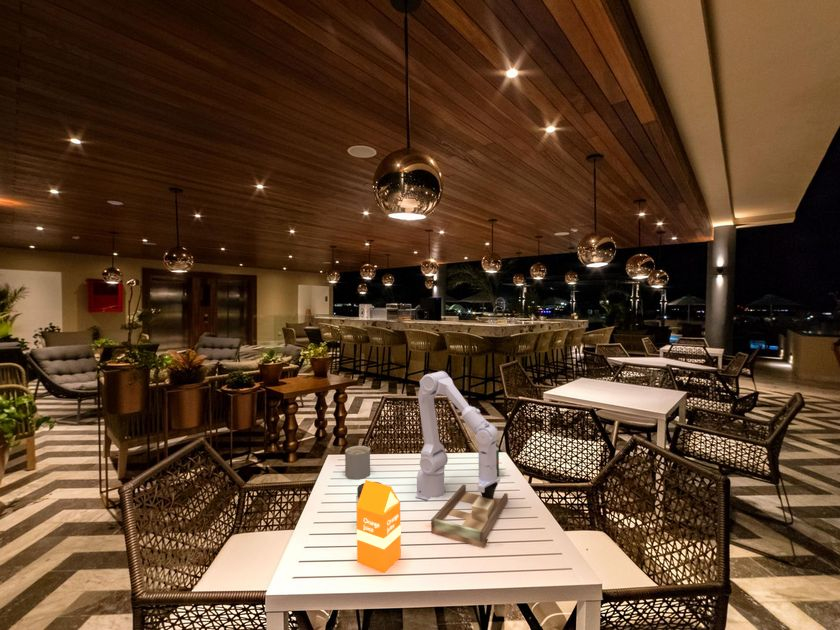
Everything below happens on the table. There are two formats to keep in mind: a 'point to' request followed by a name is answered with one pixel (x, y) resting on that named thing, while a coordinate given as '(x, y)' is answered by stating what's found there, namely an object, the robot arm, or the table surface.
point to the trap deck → (470, 529)
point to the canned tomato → (497, 460)
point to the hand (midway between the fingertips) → (488, 505)
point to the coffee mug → (357, 462)
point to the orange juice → (378, 527)
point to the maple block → (482, 509)
